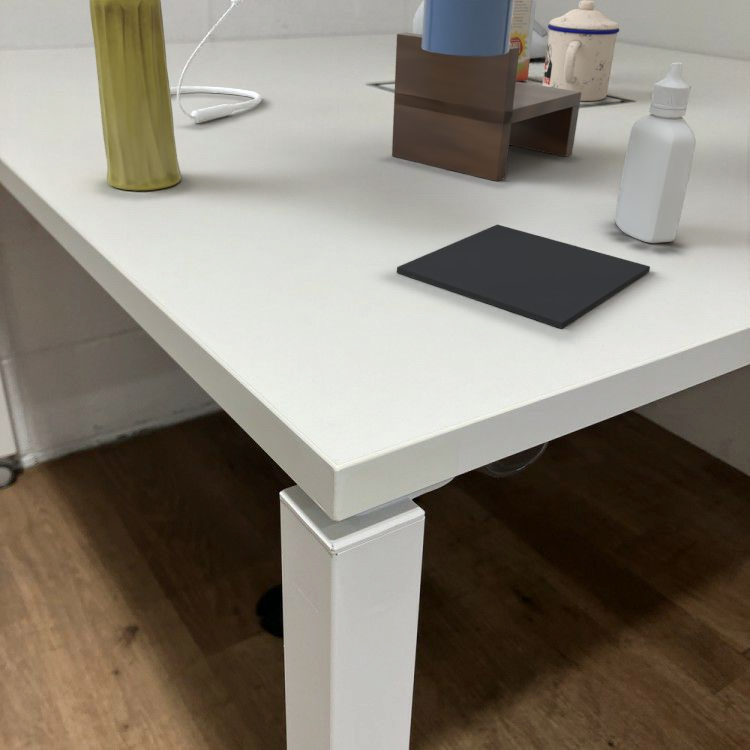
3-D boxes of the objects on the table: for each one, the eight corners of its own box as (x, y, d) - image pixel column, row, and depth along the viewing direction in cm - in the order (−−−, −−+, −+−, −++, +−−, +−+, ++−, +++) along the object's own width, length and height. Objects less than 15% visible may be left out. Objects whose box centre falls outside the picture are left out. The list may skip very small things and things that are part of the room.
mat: (496, 229, 61) (497, 224, 61) (649, 271, 54) (650, 266, 54) (396, 272, 53) (396, 266, 53) (561, 329, 46) (562, 322, 46)
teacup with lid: (546, 86, 115) (558, -4, 110) (612, 93, 113) (627, 0, 107) (528, 101, 106) (540, 2, 100) (599, 108, 103) (615, 7, 97)
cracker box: (508, 75, 123) (525, -84, 113) (528, 82, 118) (548, -84, 108) (423, 77, 119) (432, -88, 109) (440, 85, 114) (451, -88, 104)
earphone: (82, 84, 85) (133, -45, 91) (143, 178, 100) (183, 62, 106) (204, 94, 82) (248, -40, 89) (247, 189, 98) (282, 69, 104)
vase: (175, 169, 72) (159, -9, 65) (187, 188, 67) (172, -2, 60) (103, 173, 70) (79, -9, 63) (110, 194, 65) (85, -2, 58)
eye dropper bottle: (671, 224, 63) (707, 59, 58) (675, 247, 59) (714, 71, 53) (614, 217, 64) (643, 55, 58) (613, 240, 60) (644, 67, 54)
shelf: (472, 133, 88) (482, 23, 83) (572, 154, 82) (590, 36, 76) (391, 156, 79) (396, 33, 74) (496, 181, 72) (511, 48, 67)
